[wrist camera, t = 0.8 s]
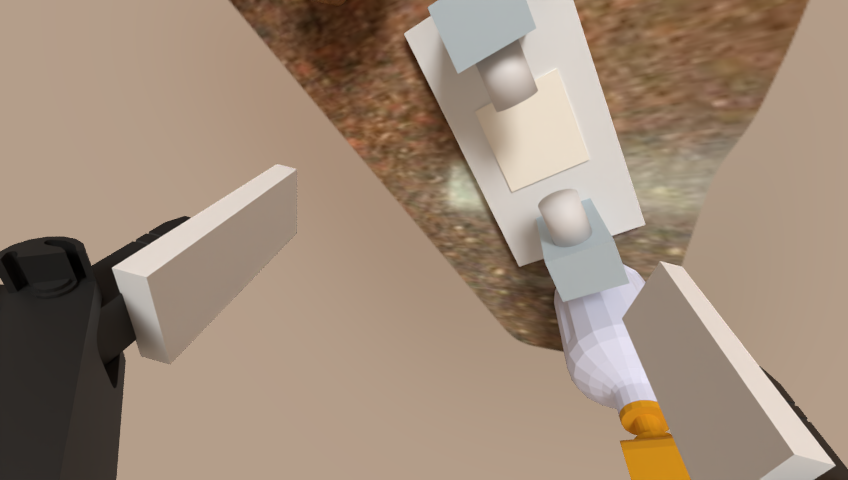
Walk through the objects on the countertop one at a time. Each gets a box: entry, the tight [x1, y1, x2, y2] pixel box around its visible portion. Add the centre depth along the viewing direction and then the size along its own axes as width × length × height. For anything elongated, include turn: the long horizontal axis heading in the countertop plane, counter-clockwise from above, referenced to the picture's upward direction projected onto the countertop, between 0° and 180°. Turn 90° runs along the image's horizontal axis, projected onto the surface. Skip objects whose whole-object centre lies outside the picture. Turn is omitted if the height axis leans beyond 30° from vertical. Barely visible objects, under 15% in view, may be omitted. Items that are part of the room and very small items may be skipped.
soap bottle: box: [554, 264, 691, 480], centre depth 28 cm, size 9×9×25 cm
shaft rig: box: [404, 0, 645, 302], centre depth 28 cm, size 24×12×9 cm, turn 29°
